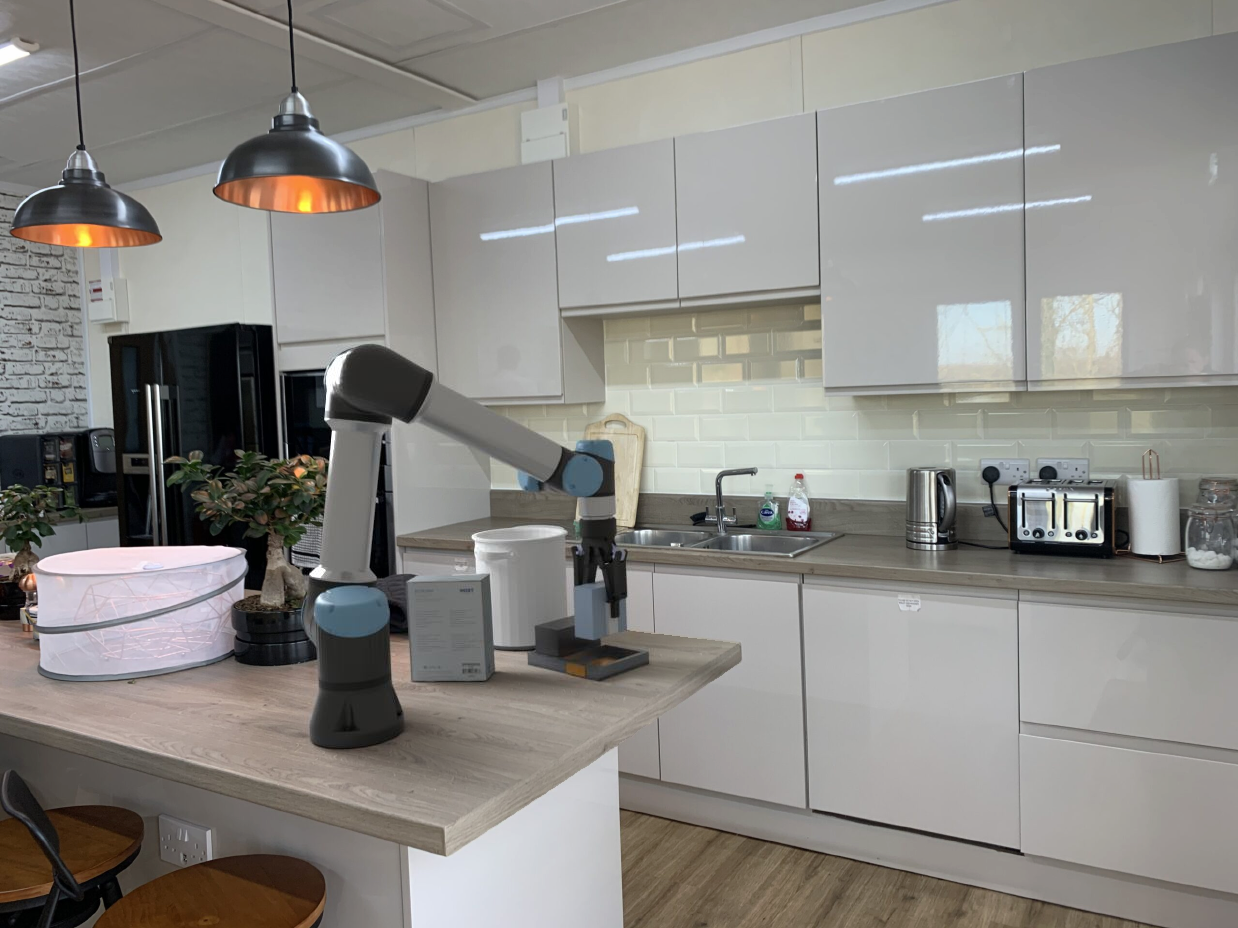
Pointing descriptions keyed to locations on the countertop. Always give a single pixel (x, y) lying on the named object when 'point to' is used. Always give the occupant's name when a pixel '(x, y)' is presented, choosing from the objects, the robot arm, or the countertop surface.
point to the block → (594, 611)
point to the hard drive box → (450, 627)
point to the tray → (581, 653)
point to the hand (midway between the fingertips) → (601, 631)
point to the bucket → (523, 581)
